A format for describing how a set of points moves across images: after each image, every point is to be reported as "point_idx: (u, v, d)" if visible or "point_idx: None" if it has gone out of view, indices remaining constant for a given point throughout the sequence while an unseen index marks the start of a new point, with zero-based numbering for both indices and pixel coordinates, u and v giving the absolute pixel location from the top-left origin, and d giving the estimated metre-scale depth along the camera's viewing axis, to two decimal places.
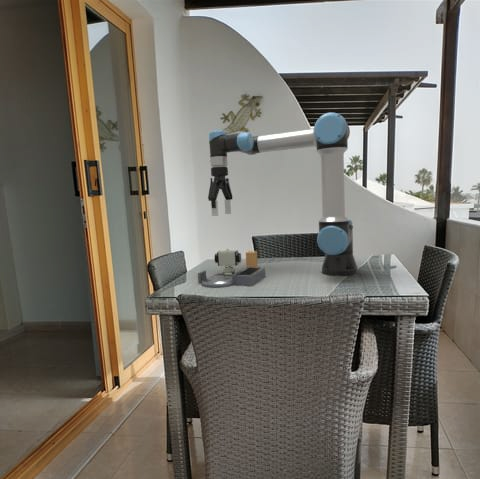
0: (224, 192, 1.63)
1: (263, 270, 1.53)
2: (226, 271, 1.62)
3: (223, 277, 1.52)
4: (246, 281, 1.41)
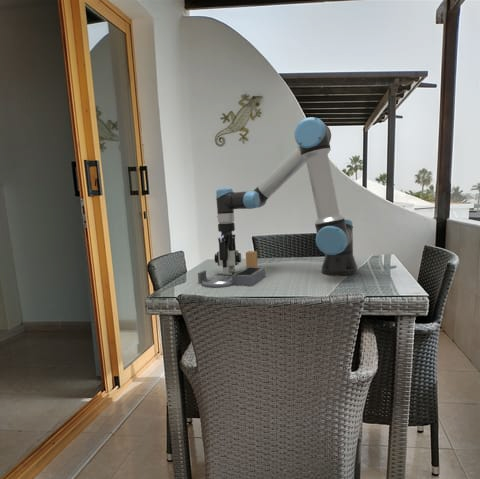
0: (229, 248, 1.65)
1: (263, 270, 1.53)
2: None
3: (223, 277, 1.52)
4: (246, 281, 1.41)
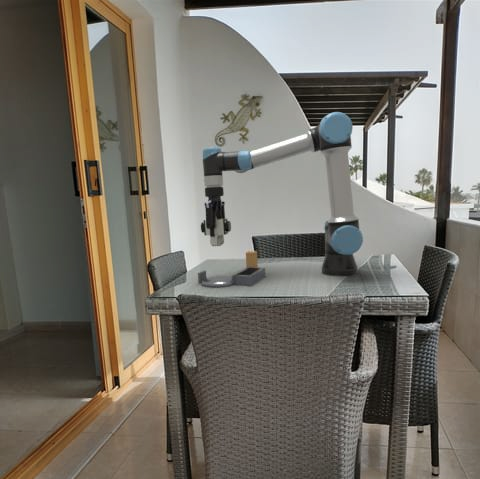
0: (218, 216, 1.47)
1: (263, 270, 1.53)
2: None
3: (223, 277, 1.52)
4: (246, 281, 1.41)
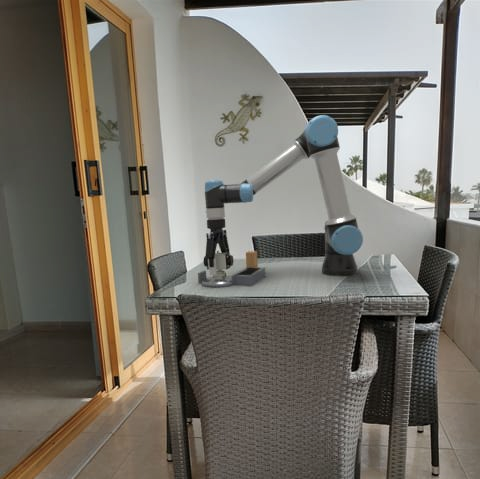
0: (221, 245, 1.50)
1: (263, 270, 1.53)
2: (216, 275, 1.47)
3: None
4: (246, 281, 1.41)
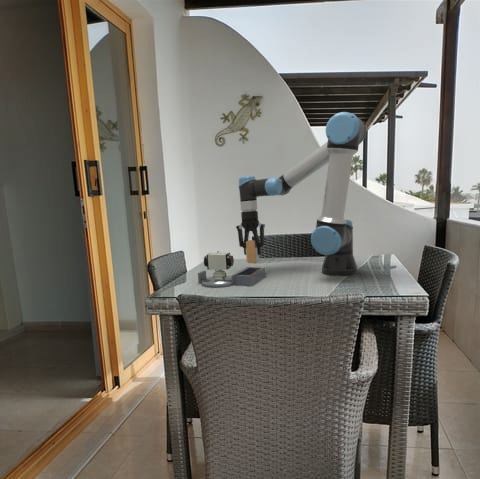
0: None
1: (263, 270, 1.53)
2: (216, 275, 1.47)
3: None
4: (246, 281, 1.41)
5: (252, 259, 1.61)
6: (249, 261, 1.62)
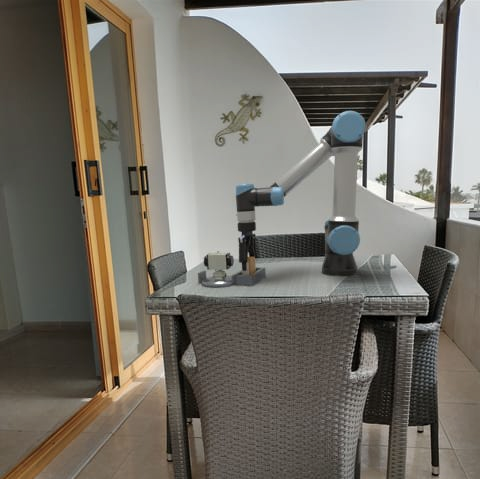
0: (250, 249, 1.51)
1: (263, 270, 1.53)
2: (216, 275, 1.47)
3: None
4: (246, 281, 1.41)
5: None
6: None
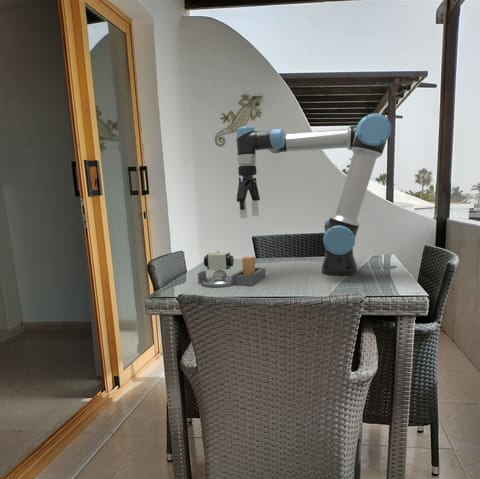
0: (252, 192, 1.53)
1: (263, 270, 1.53)
2: (216, 275, 1.47)
3: None
4: (246, 281, 1.41)
5: None
6: None
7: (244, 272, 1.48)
